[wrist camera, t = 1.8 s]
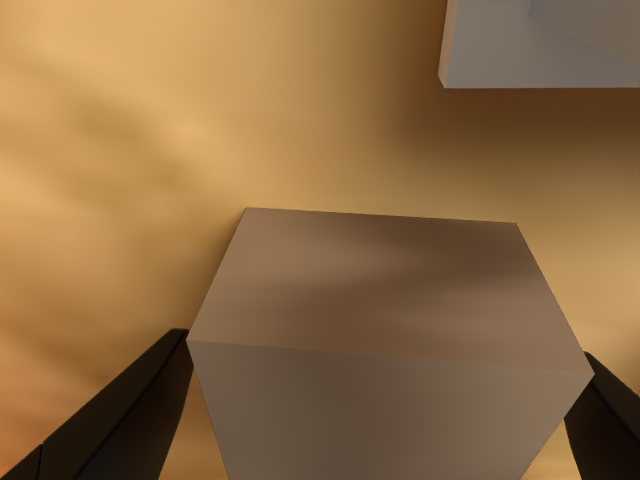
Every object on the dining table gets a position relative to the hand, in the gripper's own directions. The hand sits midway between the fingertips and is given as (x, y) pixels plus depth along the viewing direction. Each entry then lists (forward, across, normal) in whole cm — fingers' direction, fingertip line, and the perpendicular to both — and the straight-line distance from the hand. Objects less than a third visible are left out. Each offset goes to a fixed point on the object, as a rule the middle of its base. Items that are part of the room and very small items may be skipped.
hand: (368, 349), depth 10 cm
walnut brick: (+2, 0, 0) cm, 2 cm away
